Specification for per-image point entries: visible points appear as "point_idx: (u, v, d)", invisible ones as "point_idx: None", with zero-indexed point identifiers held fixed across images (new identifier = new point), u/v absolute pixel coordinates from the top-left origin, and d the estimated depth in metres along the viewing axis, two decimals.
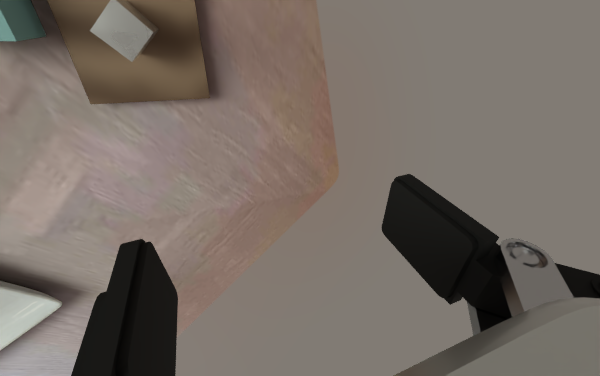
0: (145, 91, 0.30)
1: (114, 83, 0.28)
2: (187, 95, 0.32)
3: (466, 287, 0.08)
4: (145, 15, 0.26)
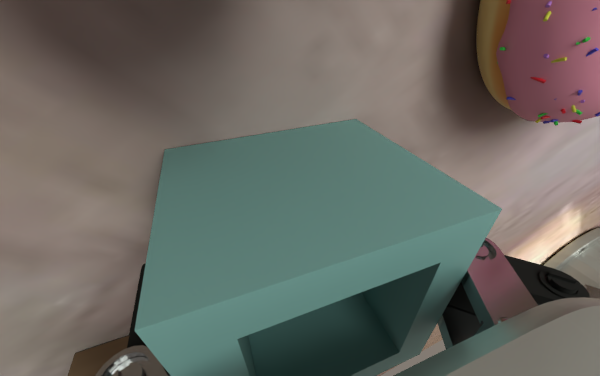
0: None
1: None
2: None
3: None
4: None
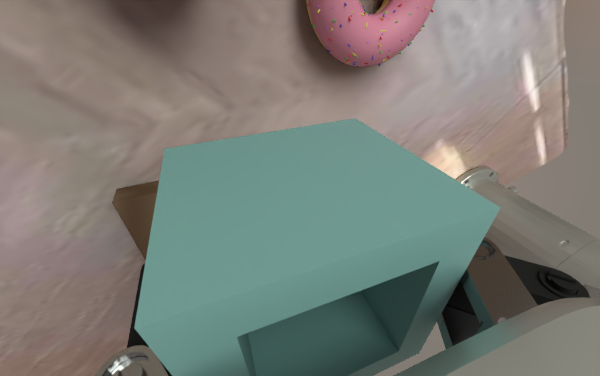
0: None
1: None
2: None
3: None
4: None
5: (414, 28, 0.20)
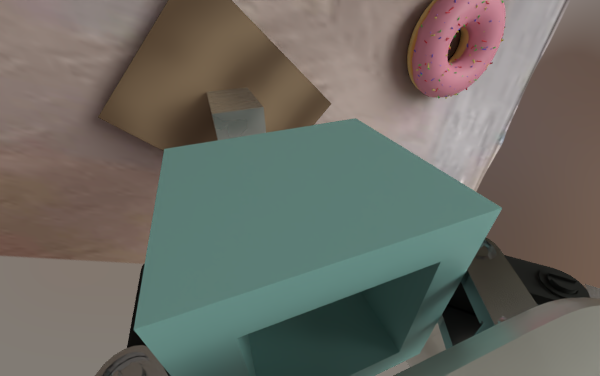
0: (162, 49, 0.18)
1: (197, 26, 0.18)
2: (121, 93, 0.19)
3: None
4: None
5: (458, 87, 0.28)
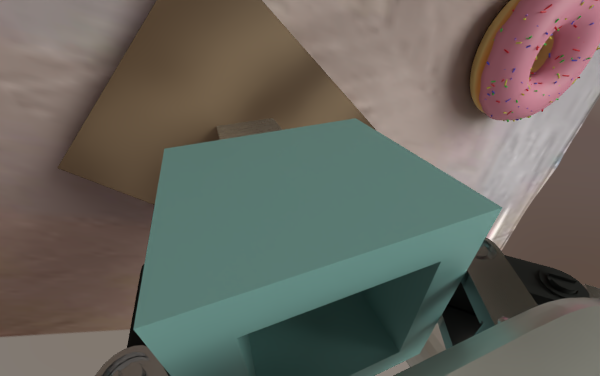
0: (152, 68, 0.12)
1: (204, 34, 0.12)
2: (91, 133, 0.13)
3: None
4: None
5: (535, 108, 0.22)
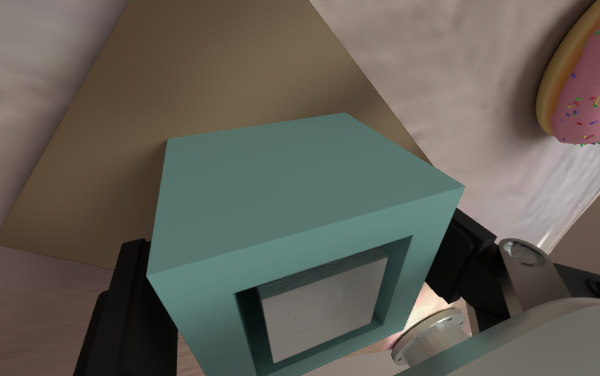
0: (132, 97, 0.08)
1: (213, 44, 0.08)
2: (41, 194, 0.08)
3: (464, 287, 0.08)
4: None
5: None
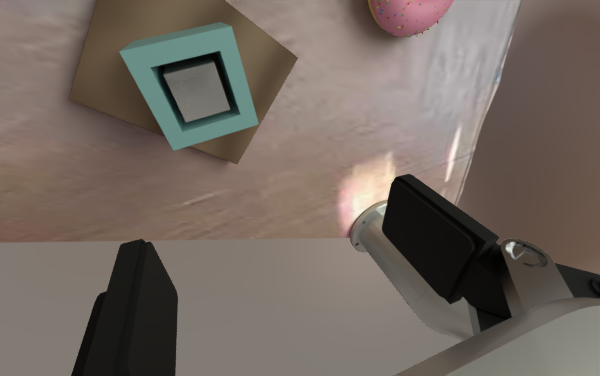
0: (113, 20, 0.19)
1: None
2: (84, 71, 0.20)
3: (466, 287, 0.08)
4: None
5: (426, 20, 0.26)
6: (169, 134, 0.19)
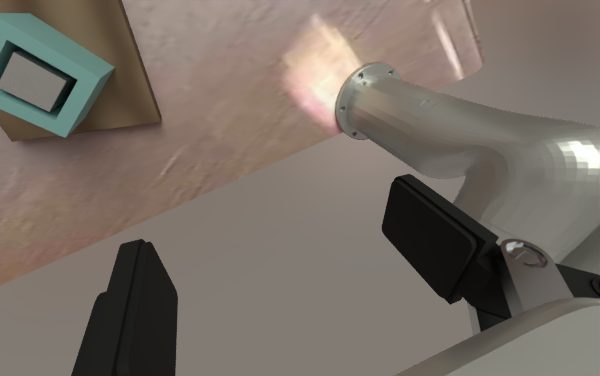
0: None
1: None
2: (0, 117, 0.26)
3: (466, 287, 0.08)
4: None
5: None
6: (49, 127, 0.23)
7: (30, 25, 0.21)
